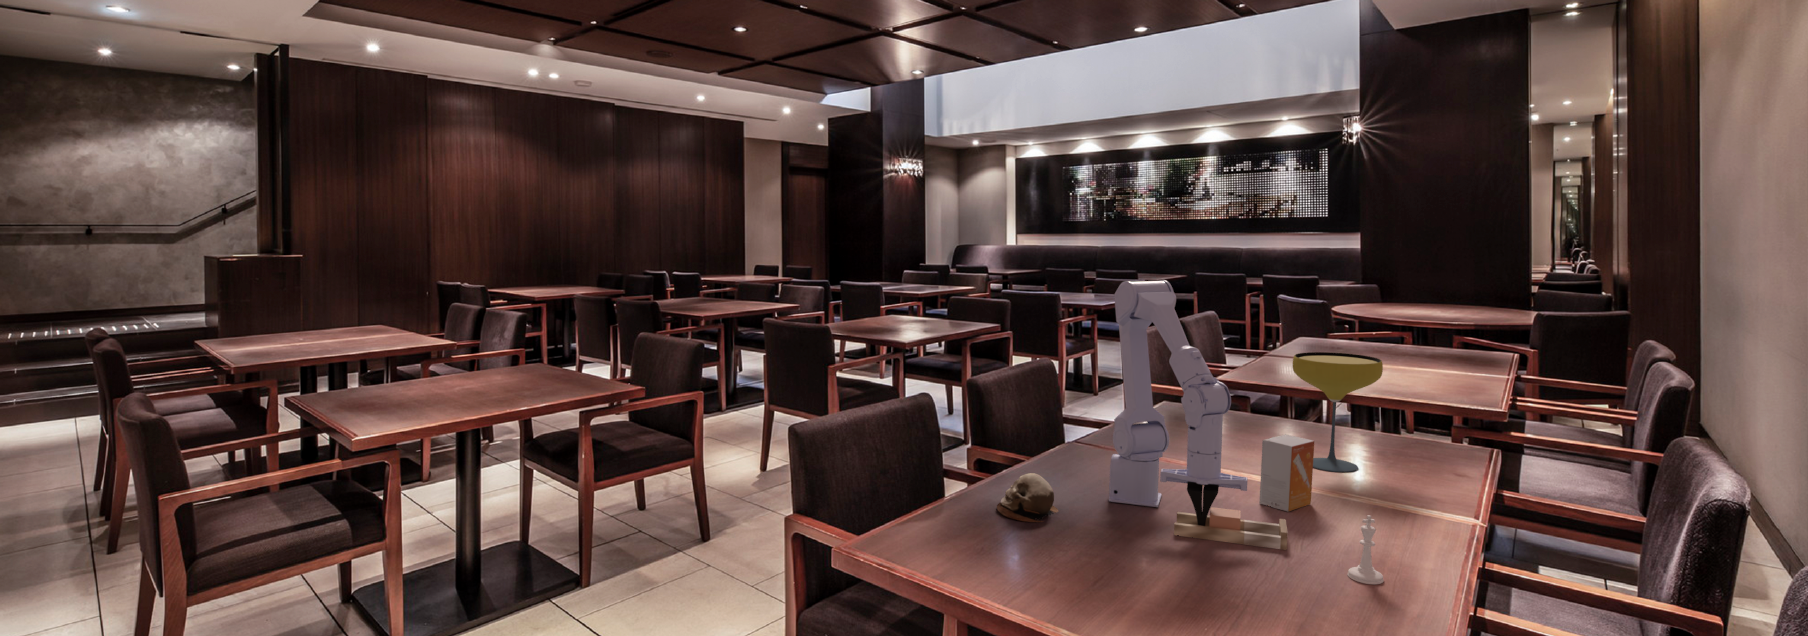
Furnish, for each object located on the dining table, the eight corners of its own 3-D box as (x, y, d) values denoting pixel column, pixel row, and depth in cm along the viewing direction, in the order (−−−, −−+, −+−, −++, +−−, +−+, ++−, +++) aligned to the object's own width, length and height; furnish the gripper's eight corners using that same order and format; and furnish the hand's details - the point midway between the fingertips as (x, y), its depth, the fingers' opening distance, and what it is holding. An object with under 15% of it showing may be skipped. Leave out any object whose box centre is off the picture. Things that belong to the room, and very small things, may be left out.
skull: (981, 509, 156) (1000, 462, 161) (1004, 533, 163) (1022, 487, 167) (1035, 521, 148) (1054, 472, 153) (1057, 546, 155) (1074, 498, 159)
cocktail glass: (1277, 453, 198) (1282, 351, 195) (1357, 456, 195) (1363, 352, 192) (1303, 475, 180) (1308, 363, 177) (1391, 478, 177) (1398, 365, 175)
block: (1209, 536, 144) (1209, 514, 144) (1210, 528, 148) (1210, 507, 148) (1239, 540, 142) (1240, 518, 142) (1239, 532, 146) (1240, 510, 146)
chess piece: (1340, 571, 129) (1343, 510, 128) (1370, 570, 130) (1373, 509, 129) (1360, 585, 125) (1364, 521, 123) (1390, 584, 125) (1394, 520, 124)
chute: (1173, 535, 145) (1174, 518, 145) (1176, 522, 152) (1177, 506, 151) (1286, 550, 138) (1287, 533, 138) (1284, 535, 145) (1285, 519, 144)
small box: (1288, 512, 156) (1292, 446, 155) (1258, 503, 162) (1261, 439, 160) (1312, 504, 161) (1315, 440, 160) (1281, 496, 166) (1284, 433, 165)
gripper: (1159, 451, 144) (1157, 526, 146) (1248, 460, 139) (1245, 537, 140) (1163, 442, 151) (1161, 513, 152) (1248, 450, 145) (1245, 524, 147)
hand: (1201, 524), depth 146 cm, fingers closed
